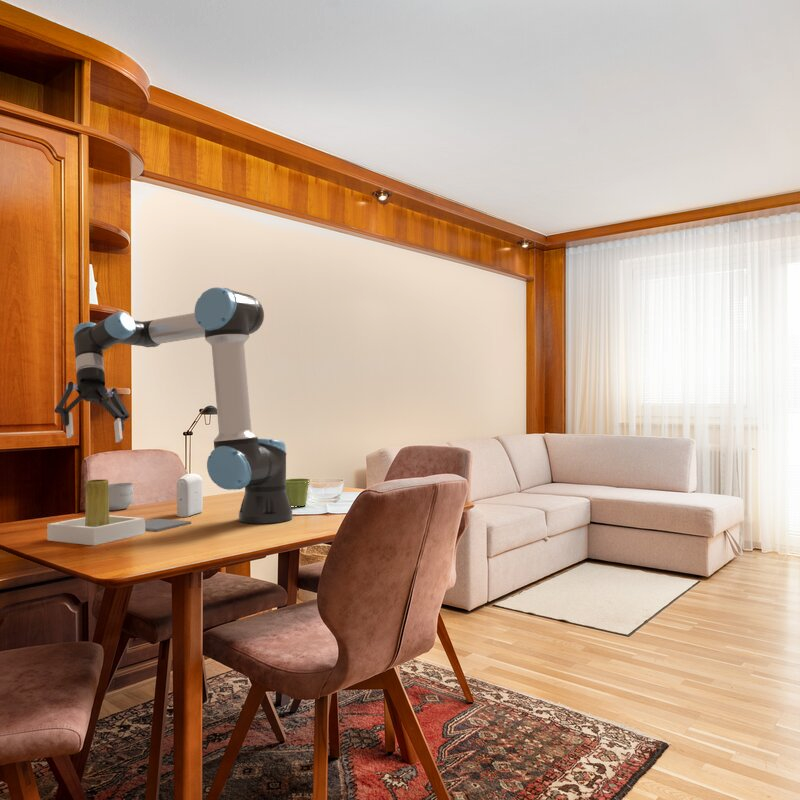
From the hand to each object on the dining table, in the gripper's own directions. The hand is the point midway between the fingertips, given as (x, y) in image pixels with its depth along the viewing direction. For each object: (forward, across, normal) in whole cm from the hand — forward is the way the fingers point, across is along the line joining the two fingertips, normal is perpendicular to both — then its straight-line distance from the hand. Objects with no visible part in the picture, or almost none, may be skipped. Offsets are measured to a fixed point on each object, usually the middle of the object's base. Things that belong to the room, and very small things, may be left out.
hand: (95, 438), depth 191 cm
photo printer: (+20, -30, -6) cm, 36 cm away
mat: (+27, -14, +4) cm, 30 cm away
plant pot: (+21, -61, +6) cm, 65 cm away
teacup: (+8, -20, -33) cm, 39 cm away
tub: (+30, +4, +6) cm, 31 cm away
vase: (+31, +4, +6) cm, 32 cm away
